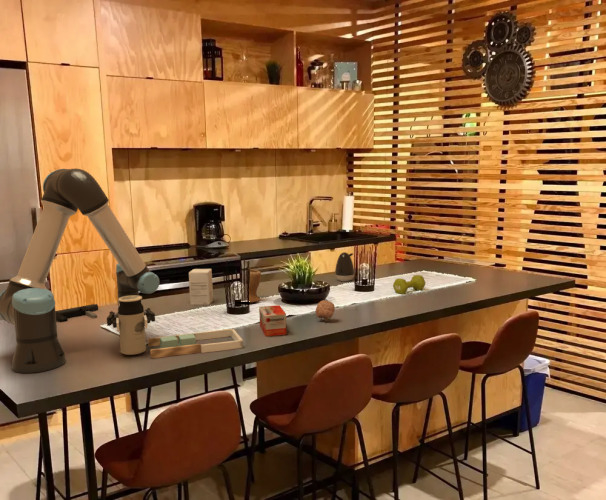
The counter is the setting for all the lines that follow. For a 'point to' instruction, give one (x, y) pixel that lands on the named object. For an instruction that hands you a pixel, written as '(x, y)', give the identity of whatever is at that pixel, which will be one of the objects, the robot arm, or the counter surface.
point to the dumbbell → (409, 284)
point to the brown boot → (254, 285)
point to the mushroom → (325, 310)
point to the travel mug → (131, 325)
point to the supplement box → (200, 286)
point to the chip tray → (222, 345)
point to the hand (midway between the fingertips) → (132, 325)
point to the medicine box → (272, 320)
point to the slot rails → (172, 348)
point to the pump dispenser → (344, 267)
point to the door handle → (76, 312)
